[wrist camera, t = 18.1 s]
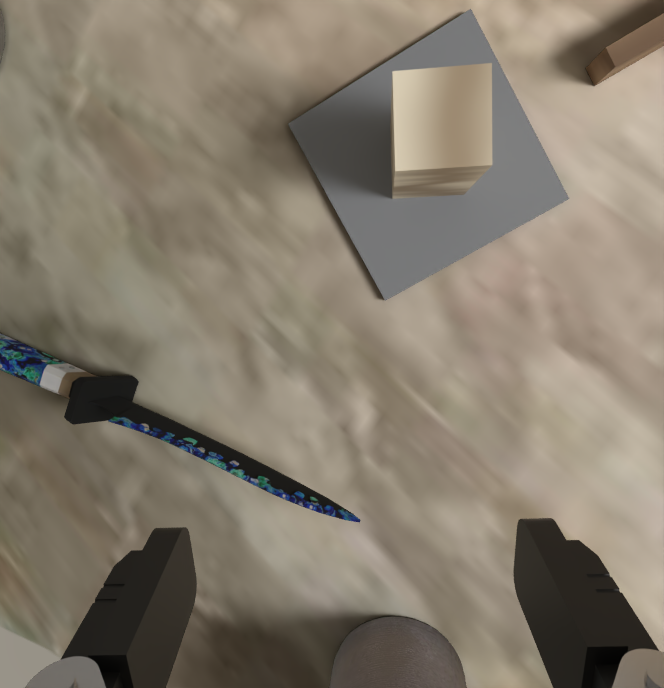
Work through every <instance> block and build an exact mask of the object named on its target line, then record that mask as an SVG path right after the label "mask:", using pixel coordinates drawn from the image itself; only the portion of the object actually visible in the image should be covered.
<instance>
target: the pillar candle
mask: <svg viewBox="0 0 664 688" xmlns="http://www.w3.org/2000/svg"><path fill="white" fill-rule="evenodd" d="M329 688H467V687H466V682H465V675H464V672H463V668H462V664H461V661H460V659H459V657H458V654H457V653H456V651H455V649H454V648H453V647H452V645H451V644H450V643H449V641H448V640H447V639H446V638H445V637H444V636H443V635H442V634H441V633H440V632H438V631H437V630H436V629H434V628H432V627H431V626H429V625H427V624H424V623H422V622H420V621H418V620H414V619H410V618H405V617H383V618H378V619H374V620H372V621H368V622H365V623H364V624H362V625H360V626H359V627H357V628H356V629H354V630H353V631H351V632H350V633H349V634H348V635H347V637H346V638H345V639H344V641H343V642H342V644H341V646H340V648H339V650H338V652H337V654H336V656H335V660H334V664H333V668H332V674H331V681H330V687H329Z"/></svg>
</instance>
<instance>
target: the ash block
mask: <svg viewBox="0 0 664 688" xmlns="http://www.w3.org/2000/svg"><path fill="white" fill-rule="evenodd" d="M390 131H391V167H392V199H398V198H415V197H432V196H449V195H464V194H465V193H466V192H467V191H468V190H469V189H470V188H471V187H472V186H473V185H474V184H475V183H476V182H477V180H478V179H479V178H480V177H481V176H482V175H483V174H484V173H485V172H486V171H487V170H488V169H489V168H490V167H491V166H492V63H485V64H473V65H461V66H449V67H437V68H425V69H413V70H401V71H392V96H391V122H390Z"/></svg>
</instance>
